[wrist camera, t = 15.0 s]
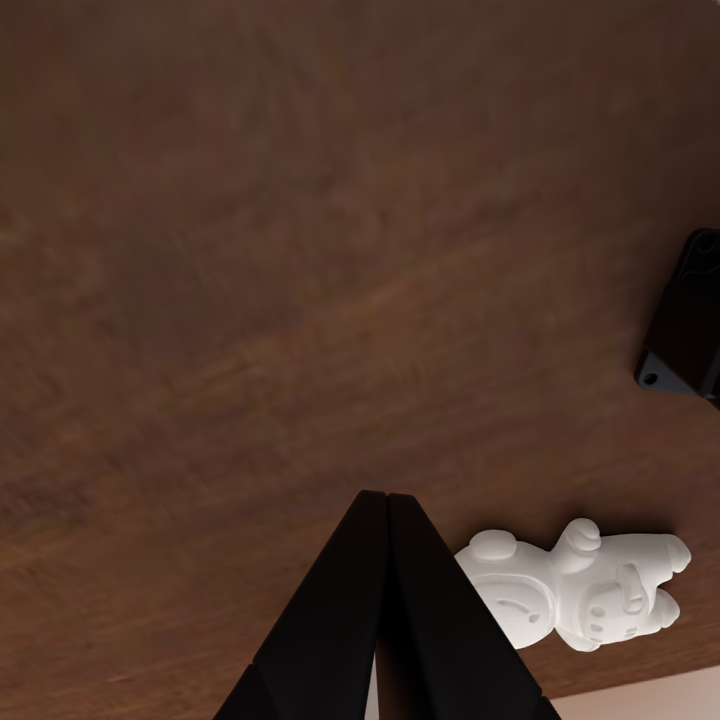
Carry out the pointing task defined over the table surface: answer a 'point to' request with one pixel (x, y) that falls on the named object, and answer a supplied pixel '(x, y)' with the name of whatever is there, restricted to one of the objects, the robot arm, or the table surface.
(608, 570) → the astronaut figurine
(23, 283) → the table surface
